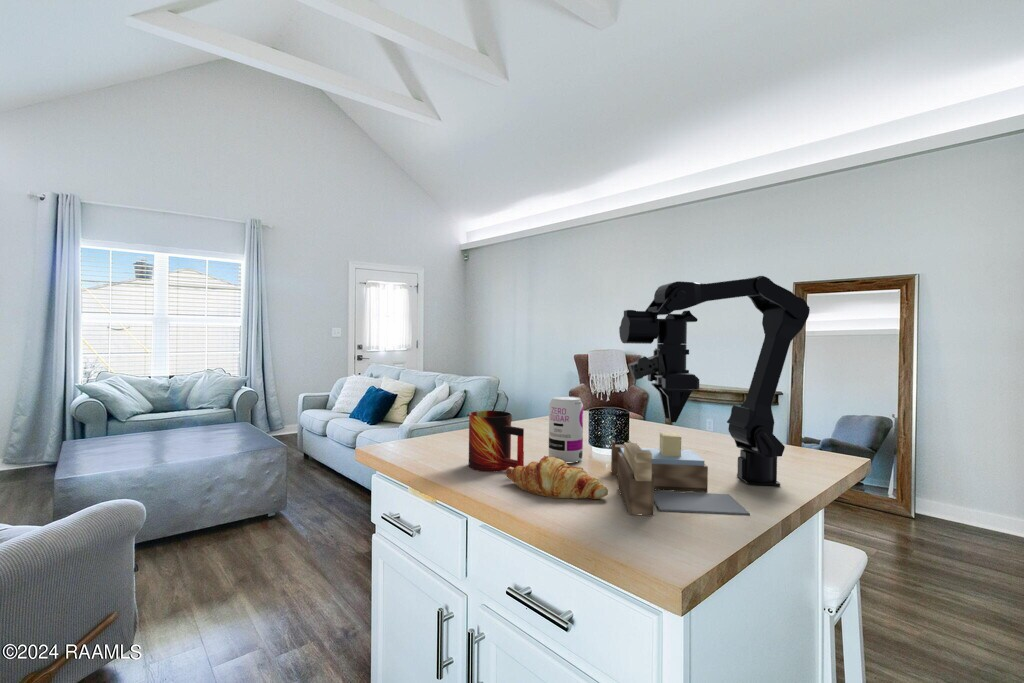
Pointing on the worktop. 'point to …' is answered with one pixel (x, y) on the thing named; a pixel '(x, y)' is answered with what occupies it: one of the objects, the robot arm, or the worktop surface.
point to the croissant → (556, 480)
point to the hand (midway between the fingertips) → (670, 420)
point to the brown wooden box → (654, 481)
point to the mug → (493, 441)
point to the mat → (698, 503)
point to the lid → (672, 452)
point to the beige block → (638, 461)
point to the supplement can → (566, 428)
